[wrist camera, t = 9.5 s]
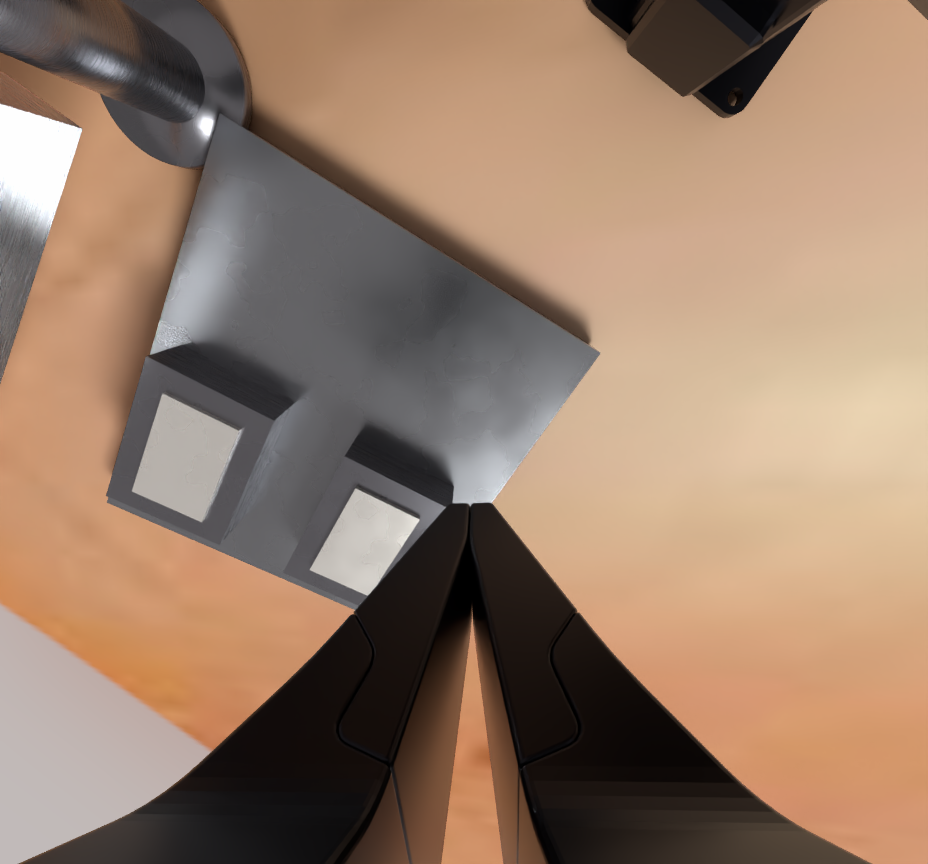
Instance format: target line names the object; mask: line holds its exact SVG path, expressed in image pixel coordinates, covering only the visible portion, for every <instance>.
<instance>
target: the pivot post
mask: <svg viewBox="0 0 928 864" xmlns="http://www.w3.org/2000/svg"><path fill="white" fill-rule="evenodd" d="M0 52H1V53H4V54H6V55H8V56H11V57H13V58H16V59H18V60H21V61H23V62H25V63H28V64H30V65H33V66H35V67H37V68H40V69H42V70H45V71H47V72H49V73H52V74H54V75H57V76H59V77H62V78H64V79H66V80H69V81H71V82H74V83H76V84H78V85H81V86H83V87H86V88H88V89H90V90H93V91H95V92H98V93H100V95H101V97H102V99H103V102H104V104H105V106H106V108H107V110H108V111H109V113H110V115H111V116H112V118H113V119H114V121H115V122H116V124H117V125H118V127H119V128H120V129H121V130H122V132H123V133H124V134H125V135H126V136H127V137H128V138H129V139H130V140H131V141H132V142H133V143H134V144H135V145H136V146H138V147H139V148H140V149H141V150H143V151H144V152H146V153H147V154H149V155H150V156H152V157H154V158H156V159H158V160H160V161H162V162H165V163H168V164H171V165H175V166H178V167H182V168H187V169H196V170H198V169H204V166H205V162H206V159H207V155H208V152H209V148H210V145H211V141H212V138H213V134H214V131H215V128H216V124H217V121H218V117H219V114H222V115H224V116H226V117H228V118H229V119H231V120H232V121H234V122H236V123H237V124H239V125H240V126H242V127H244V128H246V129H249V125H250V120H251V113H252V93H251V85H250V80H249V75H248V72H247V69H246V66H245V63H244V60H243V58H242V56H241V53H240V51H239V49H238V47H237V46H236V44H235V42H234V40H233V39H232V37H231V36H230V34H229V33H228V31H227V30H226V29H225V28H224V26H223V25H222V24H221V23H220V22H219V20H217V19H216V18H215V17H214V16H213V15H212V14H211V13H210V12H209V11H208V10H207V9H206V8H205V7H204V6H202V5H201V4H200V3H199V2H198V1H196V0H0Z"/></svg>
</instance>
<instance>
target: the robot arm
mask: <svg viewBox="0 0 928 864" xmlns="http://www.w3.org/2000/svg"><path fill="white" fill-rule="evenodd" d="M826 1H827V0H586V3H587V6H588V9H589V10H590V11H591V13H592V14H593V15H595V16H596V17H597V18H598V19H600V20H601V21H602V22H603V23H605V24H606V25H607V26H608V27H609V28H611V29H612V30H613V31H614V32H616V33H617V34H618V35H619V36H621V37H622V38H623V39H624V40H626V46H627V52H628V53H629V54H630V55H631V56H632V57H634V58H635V59H636V60H637V61H639V62H640V63H641V64H642V65H644V66H645V67H646V68H647V69H649V70H650V71H651V72H652V73H653V74H655V75H656V76H657V77H658V78H660V79H661V80H662V81H663V82H665V83H666V84H667V85H668V86H670V87H671V88H672V89H673V90H675V91H676V92H677V93H678V94H680V95H681V96H683V97H684V96H687V95H691V94H692V95H693V96H695V97H696V98H697V99H698V100H700V101H701V102H702V103H703V104H704V105H706V106H707V107H708V108H709V109H711V110H712V111H713V112H714V113H716V114H717V115H718V116H720V117H722V118H729V117H731V116H733V115H735V114H737V113H739V112H741V111H742V110H743V109H744V108H745V107H746V106H747V104H748V103H749V101H750V100H751V99H752V97H753V96H754V94H755V93H756V91H757V90H758V89H759V87H760V86H761V84H762V83H763V81H764V80H765V79H766V77H767V76H768V74H769V73H770V71H771V70H772V69H773V67H774V66H775V64H776V63H777V61H778V60H779V59H780V57H781V56H782V54H783V53H784V51H785V50H786V49H787V47H788V46H789V44H790V43H791V41H792V40H793V39H794V37H795V36H796V34H797V33H798V31H799V30H800V29H801V27H802V26H803V24H804V23H805V21H806V20H807V19H808V17H809V16H810V14H811V13H812V11H813V10H814V9H816V8H817V7H818V6H820V5H821V4H823V3H824V2H826ZM908 1H909V2H910V3H911V4H912V5H913V6H914V7H915V8H916V9H917V10H918V11H919V12H920V13H921V14H922V15H923V16H924V17H925V18H926V19H927V20H928V0H908ZM730 92H734V93H735V95H736V103H735V105H734V106H731V105H729V103H728V95H729V93H730ZM472 613H473V626H474V636H475V643H476V651H477V659H478V667H479V675H480V683H481V691H482V698H483V706H484V714H485V722H486V730H487V738H488V746H489V753H490V761H491V769H492V777H493V785H494V793H495V800H496V808H497V816H498V824H499V832H500V840H501V848H502V855H503V863H504V864H871V863H869V862H867V861H865V860H863V859H862V858H860V857H858V856H856V855H854V854H852V853H850V852H848V851H846V850H844V849H842V848H840V847H838V846H836V845H834V844H833V843H831V842H829V841H827V840H825V839H823V838H821V837H819V836H817V835H815V834H813V833H811V832H809V831H807V830H806V829H804V828H802V827H800V826H798V825H797V824H795V823H794V822H792V821H791V820H789V819H787V818H786V817H784V816H783V815H781V814H780V813H778V812H777V811H776V810H774V809H773V808H772V807H770V806H769V805H768V804H766V803H765V802H764V801H762V800H761V799H760V798H759V797H757V796H756V795H755V794H754V793H753V792H751V791H750V790H749V789H748V788H747V787H746V786H744V785H743V784H742V783H741V782H740V781H739V780H738V779H737V778H736V777H735V776H734V775H733V774H731V773H730V772H729V771H728V770H727V769H726V768H725V767H724V766H723V765H722V764H721V763H720V762H719V761H718V760H717V759H716V758H715V757H714V756H713V755H712V754H711V753H710V752H709V751H708V750H707V749H706V748H705V747H704V746H703V745H702V744H701V743H700V742H699V741H698V740H697V739H696V738H695V737H694V736H693V735H692V734H691V733H690V732H689V731H688V730H687V729H686V728H685V727H684V726H683V725H682V724H681V723H680V722H679V721H678V720H677V719H676V718H675V717H674V716H673V715H672V714H671V713H670V712H669V711H668V710H667V709H666V708H665V707H664V706H663V705H662V704H661V703H660V702H659V701H658V700H657V699H656V698H655V697H654V696H653V695H652V694H651V693H650V692H649V691H648V690H647V689H646V688H645V687H644V686H643V684H642V683H641V682H640V681H639V680H638V679H637V678H636V677H635V676H634V675H633V674H632V673H631V672H630V671H629V670H628V669H627V668H626V667H625V666H624V665H623V663H622V662H621V661H620V660H619V659H618V658H617V657H616V656H615V655H614V654H613V653H612V652H611V650H610V649H609V648H608V647H607V646H606V644H605V643H604V642H603V641H602V640H601V639H600V637H599V636H598V635H597V634H596V633H595V631H594V630H593V629H592V628H591V627H590V625H589V624H588V623H587V621H586V620H585V619H584V618H583V616H582V615H581V614H580V613H577V609H576V608H575V607H574V605H573V604H572V603H571V602H570V600H569V599H568V598H567V597H566V595H565V594H564V593H563V592H562V590H561V589H560V588H559V587H558V585H557V584H556V583H555V582H554V580H553V579H552V578H551V577H550V575H549V574H548V573H547V572H546V570H545V569H544V568H543V567H542V565H541V564H540V563H539V562H538V560H537V559H536V558H535V557H534V555H533V554H532V553H531V552H530V550H529V549H528V548H527V546H526V545H525V544H524V543H523V541H522V540H521V539H520V538H519V536H518V535H517V534H516V533H515V531H514V530H513V529H512V528H511V526H510V525H509V524H508V523H507V521H506V520H505V519H504V518H503V516H502V515H501V514H500V513H499V511H498V510H497V509H496V508H495V506H494V505H493V504H492V503H489V502H488V503H473V504H471V507H470V505H469V504H468V503H450V504H449V505H447V507H446V508H445V509H444V510H443V511H442V512H441V513H440V514H439V516H438V517H437V518H436V519H435V520H434V521H433V522H432V524H431V525H430V526H429V527H428V528H427V529H426V530H425V531H424V533H423V534H422V535H421V536H420V537H419V538H418V539H417V541H416V542H415V543H414V544H413V545H412V546H411V547H410V548H409V550H408V551H407V552H406V553H405V554H404V555H403V556H402V558H401V559H400V560H399V561H398V562H397V563H396V564H395V565H394V567H393V568H392V569H391V570H390V571H389V572H388V573H387V575H386V576H385V577H384V578H383V579H382V580H381V581H380V582H379V584H378V585H377V586H376V587H375V588H374V589H373V590H372V592H371V593H370V594H369V595H368V596H367V597H366V598H365V599H364V601H363V602H362V603H361V604H360V605H359V606H358V607H357V609H356V610H355V611H354V614H352V615H350V616H349V617H348V618H347V620H346V621H345V622H344V623H343V624H342V625H341V626H340V628H339V629H338V630H337V631H336V632H335V633H334V634H333V635H332V636H331V637H330V638H329V639H328V641H327V642H326V643H325V644H324V645H323V646H322V647H321V648H320V649H319V650H318V651H317V652H316V653H315V654H314V656H313V657H312V658H310V659H309V660H308V661H307V662H306V663H305V664H304V665H303V666H302V667H301V668H300V669H299V670H298V671H297V672H296V673H295V674H294V675H293V676H292V677H291V678H290V679H289V680H288V681H287V682H286V683H285V684H284V685H283V686H282V687H281V688H280V689H278V690H277V691H276V692H275V693H274V694H273V695H272V696H271V697H270V698H269V699H268V700H267V701H266V702H264V703H263V704H262V705H261V706H260V707H259V708H258V709H257V710H256V711H255V712H254V713H253V714H252V715H251V716H249V717H248V718H247V719H246V720H245V721H244V722H243V723H242V724H241V725H240V726H239V727H238V728H237V729H235V730H234V731H233V732H232V733H231V734H230V735H229V736H228V737H227V738H226V739H225V740H224V741H223V742H222V743H220V744H219V745H218V746H217V747H216V748H215V749H214V750H213V751H212V752H211V753H210V754H209V755H208V756H206V757H205V758H204V759H203V761H201V762H200V763H199V764H198V765H197V766H196V767H194V768H193V769H192V770H191V771H190V772H189V773H188V774H186V775H185V776H184V777H183V778H182V779H180V780H179V781H178V782H176V783H175V784H174V785H173V786H171V787H170V788H169V789H167V790H166V791H165V792H163V793H162V794H160V795H159V796H157V797H156V798H155V799H153V800H151V801H150V802H149V803H147V804H146V805H144V806H142V807H140V808H138V809H137V810H135V811H134V812H131V813H130V814H128V815H126V816H124V817H122V818H120V819H118V820H115V821H114V822H111V823H109V824H107V825H104V826H102V827H100V828H98V829H96V830H93V831H91V832H89V833H86V834H84V835H82V836H80V837H77V838H75V839H73V840H71V841H69V842H66V843H64V844H62V845H59V846H57V847H55V848H53V849H50V850H48V851H46V852H44V853H41V854H39V855H37V856H35V857H32V858H30V859H28V860H26V861H24V862H21V863H19V864H441V860H442V853H443V845H444V837H445V829H446V821H447V813H448V805H449V797H450V790H451V782H452V774H453V766H454V758H455V750H456V742H457V734H458V727H459V719H460V711H461V703H462V695H463V687H464V679H465V671H466V663H467V656H468V648H469V640H470V632H471V622H472Z"/></svg>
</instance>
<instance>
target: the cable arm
mask: <svg viewBox="0 0 928 864" xmlns="http://www.w3.org/2000/svg"><path fill="white" fill-rule="evenodd" d="M81 132H82V128H80V127H79V126H78V125H76V124H75V123H74V122H72V121H71V120H69V119H68V118H67V117H65V116H64V115H62V114H61V113H60V112H58V111H57V110H56V109H54V108H53V107H51V106H50V105H49V104H47V103H46V102H44V101H43V100H42V99H40V98H39V97H37V96H36V95H35V94H33V93H32V92H31V91H29V90H28V89H26V88H25V87H24V86H22V85H21V84H19V83H18V82H17V81H15V80H14V79H13V78H11V77H10V76H8V75H7V74H5V73H2V72H0V383H1V380H2V377H3V374H4V370H5V367H6V364H7V361H8V358H9V355H10V352H11V349H12V346H13V343H14V339H15V336H16V333H17V330H18V327H19V324H20V321H21V318H22V315H23V312H24V308H25V305H26V302H27V299H28V296H29V293H30V290H31V287H32V284H33V281H34V278H35V274H36V271H37V268H38V265H39V262H40V259H41V256H42V253H43V250H44V247H45V243H46V240H47V237H48V234H49V231H50V228H51V225H52V222H53V219H54V216H55V212H56V209H57V206H58V203H59V200H60V197H61V194H62V191H63V188H64V185H65V182H66V178H67V175H68V172H69V169H70V166H71V163H72V160H73V157H74V154H75V151H76V147H77V144H78V141H79V138H80V135H81Z"/></svg>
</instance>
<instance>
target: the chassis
mask: <svg viewBox="0 0 928 864" xmlns="http://www.w3.org/2000/svg"><path fill="white" fill-rule="evenodd" d="M599 355H600V352H599V351H597V350H596V349H595V348H594V347H592V346H591V345H589V344H587V343H586V342H584V341H583V340H581V339H579V338H578V337H576V336H575V335H573V334H571V333H570V332H568V331H567V330H565V329H564V328H562V327H560V326H559V325H557V324H556V323H554V322H552V321H551V320H549V319H548V318H546V317H545V316H543V315H541V314H540V313H538V312H537V311H535V310H533V309H532V308H530V307H529V306H527V305H526V304H524V303H522V302H521V301H519V300H518V299H516V298H514V297H513V296H511V295H510V294H508V293H506V292H505V291H503V290H502V289H500V288H499V287H497V286H495V285H494V284H492V283H491V282H489V281H487V280H486V279H484V278H483V277H481V276H480V275H478V274H476V273H475V272H473V271H472V270H470V269H468V268H467V267H465V266H464V265H462V264H461V263H459V262H457V261H456V260H454V259H453V258H451V257H449V256H448V255H446V254H445V253H443V252H441V251H440V250H438V249H437V248H435V247H434V246H432V245H430V244H429V243H427V242H426V241H424V240H422V239H421V238H419V237H418V236H416V235H415V234H413V233H411V232H410V231H408V230H407V229H405V228H403V227H402V226H400V225H399V224H397V223H396V222H394V221H392V220H391V219H389V218H388V217H386V216H384V215H383V214H381V213H380V212H378V211H376V210H375V209H373V208H372V207H370V206H369V205H367V204H365V203H364V202H362V201H361V200H359V199H357V198H356V197H354V196H353V195H351V194H350V193H348V192H346V191H345V190H343V189H342V188H340V187H338V186H337V185H335V184H334V183H332V182H331V181H329V180H327V179H326V178H324V177H323V176H321V175H319V174H318V173H316V172H315V171H313V170H311V169H310V168H308V167H307V166H305V165H304V164H302V163H300V162H299V161H297V160H296V159H294V158H292V157H291V156H289V155H288V154H286V153H285V152H283V151H281V150H280V149H278V148H277V147H275V146H273V145H272V144H270V143H269V142H267V141H266V140H264V139H262V138H261V137H259V136H258V135H256V134H254V133H253V132H251V131H250V130H248V129H246V128H244V127H242V126H240V125H239V124H237V123H236V122H234V121H232V120H231V119H229V118H228V117H226V116H224V115H222V114H219V117H218V121H217V124H216V128H215V131H214V134H213V138H212V141H211V145H210V148H209V152H208V155H207V159H206V162H205V166H204V169H203V172H202V176H201V179H200V183H199V186H198V190H197V193H196V197H195V200H194V204H193V207H192V210H191V214H190V217H189V221H188V224H187V228H186V231H185V235H184V238H183V242H182V245H181V248H180V252H179V255H178V259H177V262H176V266H175V269H174V273H173V276H172V279H171V283H170V286H169V290H168V293H167V297H166V300H165V304H164V307H163V311H162V314H161V317H160V321H159V324H158V328H157V331H156V335H155V338H154V342H153V345H152V349H151V352H150V355H148V356H146V358H145V362H144V365H143V369H142V372H141V376H140V379H139V383H138V386H137V390H136V393H135V397H134V400H133V404H132V407H131V411H130V414H129V418H128V421H127V425H126V428H125V432H124V435H123V439H122V442H121V446H120V449H119V453H118V456H117V460H116V463H115V467H114V470H113V474H112V477H111V481H110V484H109V488H108V491H107V494H106V496H108V500H107V503H109V504H112V505H114V506H116V507H119V508H121V509H123V510H125V511H128V512H130V513H132V514H135V515H137V516H139V517H142V518H144V519H146V520H149V521H151V522H153V523H155V524H158V525H160V526H162V527H165V528H167V529H169V530H172V531H174V532H176V533H179V534H181V535H183V536H186V537H188V538H190V539H192V540H195V541H197V542H199V543H202V544H204V545H206V546H209V547H211V548H213V549H216V550H218V551H220V552H222V553H225V554H227V555H229V556H232V557H234V558H236V559H239V560H241V561H243V562H246V563H248V564H250V565H252V566H255V567H257V568H259V569H262V570H264V571H266V572H269V573H271V574H273V575H276V576H278V577H280V578H283V579H285V580H287V581H289V582H292V583H294V584H296V585H299V586H301V587H303V588H306V589H308V590H310V591H313V592H315V593H317V594H319V595H322V596H324V597H326V598H329V599H331V600H333V601H336V602H338V603H340V604H343V605H345V606H347V607H350V608H352V609H354V610H356V609H357V607H358V606H359V605H360V604H361V603H362V602H363V601H364V599H365V598H366V597H367V596H368V595H369V594H370V593H371V592H372V590H373V589H374V588H375V587H376V586H377V585H378V584H379V582H380V581H381V580H382V579H383V578H384V577H385V576H386V575H387V573H388V572H389V571H390V570H391V569H392V568H393V567H394V565H395V564H396V563H397V562H398V561H399V560H400V559H401V558H402V556H403V555H404V554H405V553H406V552H407V551H408V550H409V548H410V547H411V546H412V545H413V544H414V543H415V542H416V541H417V539H418V538H419V537H420V536H421V535H422V534H423V533H424V531H425V530H426V529H427V528H428V527H429V526H430V525H431V524H432V522H433V521H434V520H435V519H436V518H437V517H438V516H439V514H440V513H441V512H442V511H443V510H444V509H445V508H446V507H447V505H449V504H450V503H468V504H469V505H470V507H471V504H473V503H488V502H489V503H492V502H493V501H494V499H495V498H496V496H497V495H498V494H499V492H500V491H501V490H502V488H503V487H504V485H505V484H506V483H507V481H508V480H509V479H510V477H511V476H512V474H513V473H514V472H515V470H516V469H517V468H518V466H519V465H520V463H521V462H522V461H523V459H524V458H525V457H526V455H527V454H528V452H529V451H530V450H531V448H532V447H533V445H534V444H535V443H536V441H537V440H538V439H539V437H540V436H541V434H542V433H543V432H544V430H545V429H546V428H547V426H548V425H549V423H550V422H551V421H552V419H553V418H554V417H555V415H556V414H557V412H558V411H559V410H560V408H561V407H562V406H563V404H564V403H565V401H566V400H567V399H568V397H569V396H570V395H571V393H572V392H573V390H574V389H575V388H576V386H577V385H578V383H579V382H580V381H581V379H582V378H583V377H584V375H585V374H586V372H587V371H588V370H589V368H590V367H591V366H592V364H593V363H594V361H595V360H596V359H597V357H598V356H599Z"/></svg>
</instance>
